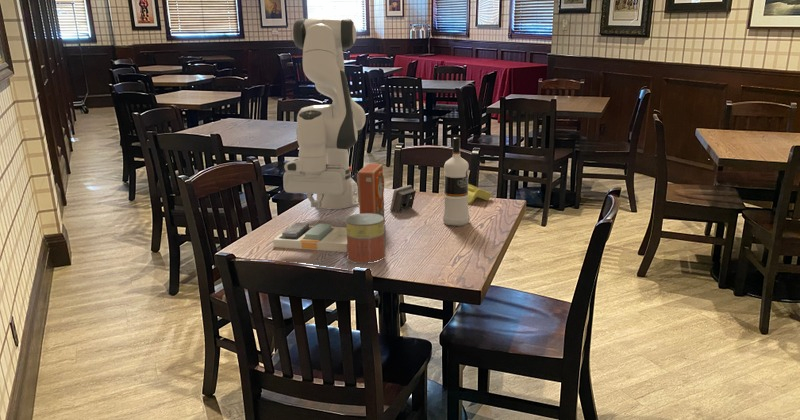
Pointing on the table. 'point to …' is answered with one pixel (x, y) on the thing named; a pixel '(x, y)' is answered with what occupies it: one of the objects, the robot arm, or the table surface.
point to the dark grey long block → (296, 231)
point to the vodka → (456, 188)
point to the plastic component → (477, 194)
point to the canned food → (365, 237)
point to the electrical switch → (403, 199)
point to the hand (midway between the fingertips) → (316, 206)
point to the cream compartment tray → (317, 241)
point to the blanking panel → (318, 232)
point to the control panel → (371, 189)
